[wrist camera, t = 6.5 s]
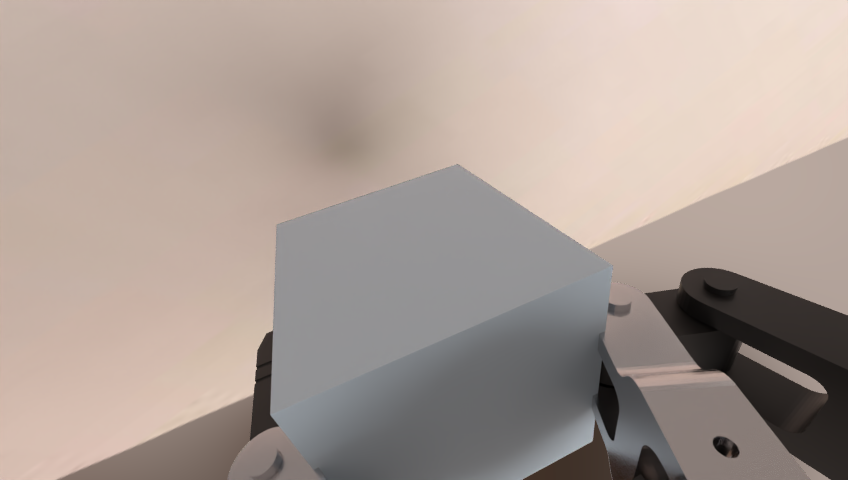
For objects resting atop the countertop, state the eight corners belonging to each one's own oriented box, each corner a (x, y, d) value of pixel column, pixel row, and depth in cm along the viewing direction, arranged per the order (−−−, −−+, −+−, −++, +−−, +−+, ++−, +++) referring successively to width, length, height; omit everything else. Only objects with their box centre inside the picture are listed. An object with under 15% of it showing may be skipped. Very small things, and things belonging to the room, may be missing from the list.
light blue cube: (276, 224, 10) (270, 414, 5) (457, 163, 11) (612, 266, 6) (342, 354, 12) (380, 555, 7) (478, 297, 13) (592, 441, 9)
